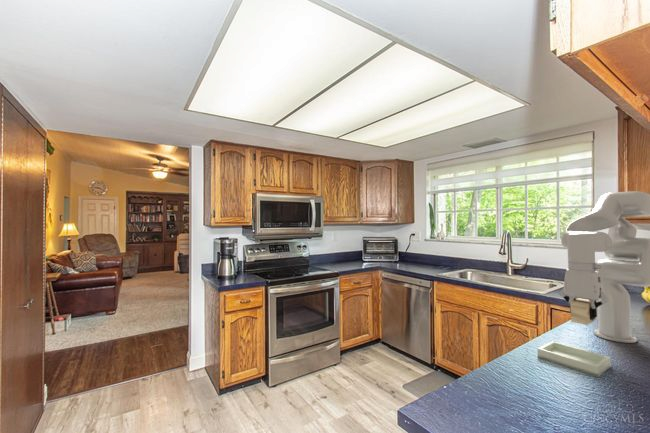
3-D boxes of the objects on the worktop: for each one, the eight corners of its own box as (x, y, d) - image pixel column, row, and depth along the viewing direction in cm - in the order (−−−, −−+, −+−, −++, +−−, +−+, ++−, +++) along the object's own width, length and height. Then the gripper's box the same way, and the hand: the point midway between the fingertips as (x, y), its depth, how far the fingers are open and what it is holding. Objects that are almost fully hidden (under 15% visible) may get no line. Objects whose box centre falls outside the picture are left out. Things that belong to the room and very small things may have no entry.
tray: (552, 349, 110) (552, 340, 110) (610, 366, 96) (610, 357, 96) (537, 357, 103) (537, 348, 103) (598, 377, 90) (598, 367, 90)
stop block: (580, 316, 113) (579, 297, 113) (595, 319, 109) (595, 300, 109) (571, 321, 108) (570, 302, 108) (587, 325, 104) (586, 305, 104)
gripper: (616, 268, 103) (618, 321, 103) (557, 263, 118) (559, 309, 117) (609, 271, 99) (611, 325, 99) (549, 265, 114) (551, 313, 113)
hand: (583, 316), depth 108 cm, fingers closed on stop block, 4 cm apart
